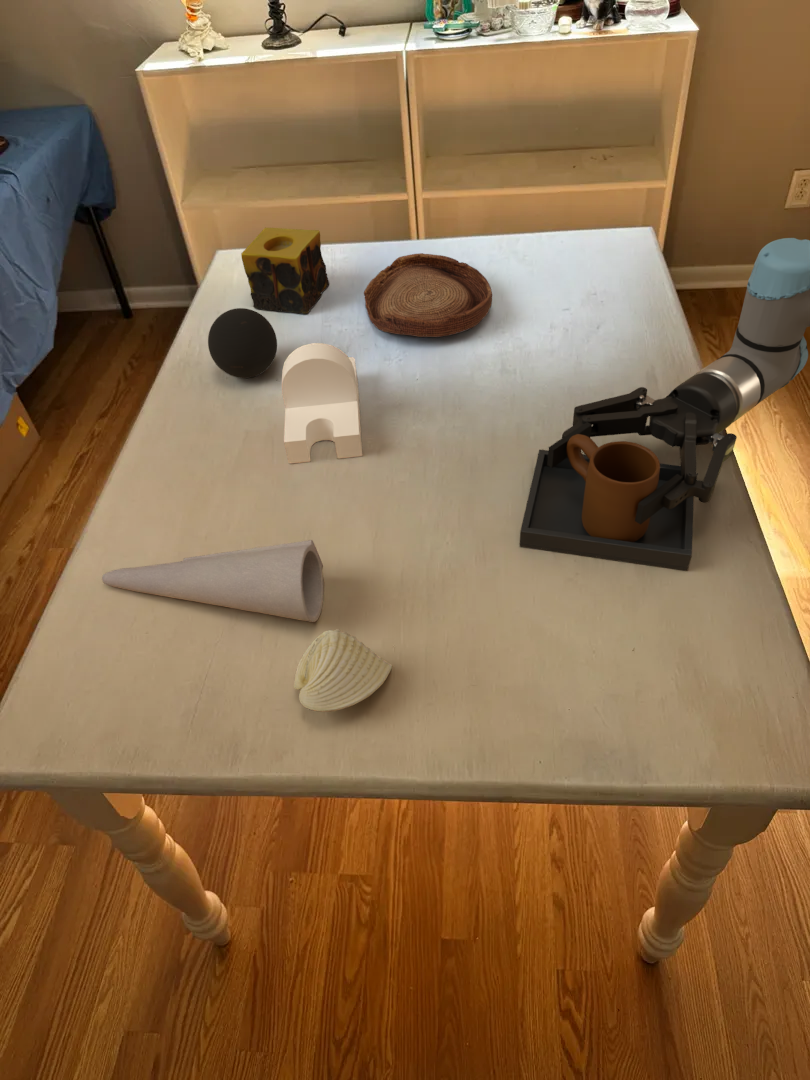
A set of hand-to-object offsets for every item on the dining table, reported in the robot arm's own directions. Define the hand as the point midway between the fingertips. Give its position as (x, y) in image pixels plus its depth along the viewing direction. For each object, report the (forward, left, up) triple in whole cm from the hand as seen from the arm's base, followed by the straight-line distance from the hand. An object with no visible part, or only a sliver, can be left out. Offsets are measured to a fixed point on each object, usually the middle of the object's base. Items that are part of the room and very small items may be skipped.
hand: (592, 484), depth 87 cm
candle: (+66, +27, -7) cm, 71 cm away
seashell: (-14, +32, -7) cm, 36 cm away
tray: (+2, -3, -7) cm, 8 cm away
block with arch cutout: (+31, +26, -7) cm, 41 cm away
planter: (+1, +44, -7) cm, 45 cm away
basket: (+54, +6, -7) cm, 54 cm away
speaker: (+46, +36, -7) cm, 58 cm away
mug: (+1, -2, -6) cm, 7 cm away
